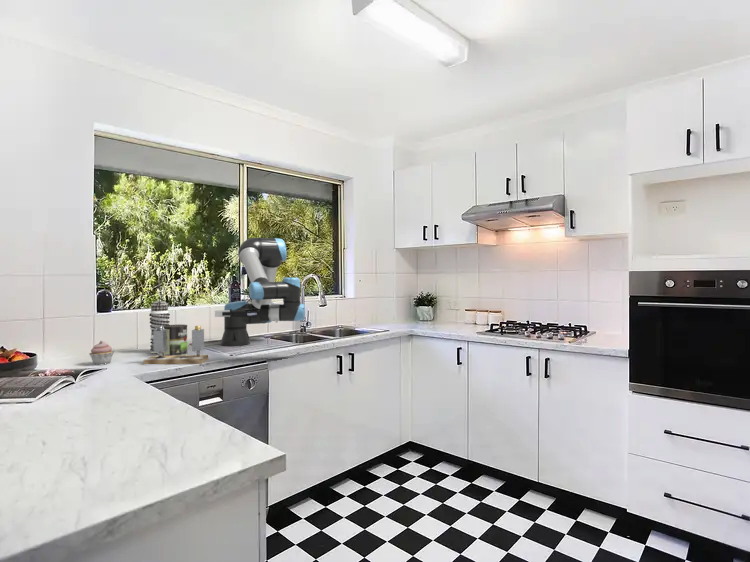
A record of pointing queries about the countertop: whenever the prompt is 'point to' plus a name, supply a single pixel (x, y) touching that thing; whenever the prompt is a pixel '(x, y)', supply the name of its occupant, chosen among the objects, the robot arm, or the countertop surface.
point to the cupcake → (101, 353)
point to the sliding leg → (197, 340)
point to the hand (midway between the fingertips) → (215, 313)
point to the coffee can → (176, 340)
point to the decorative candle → (158, 318)
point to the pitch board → (176, 359)
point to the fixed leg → (159, 341)
